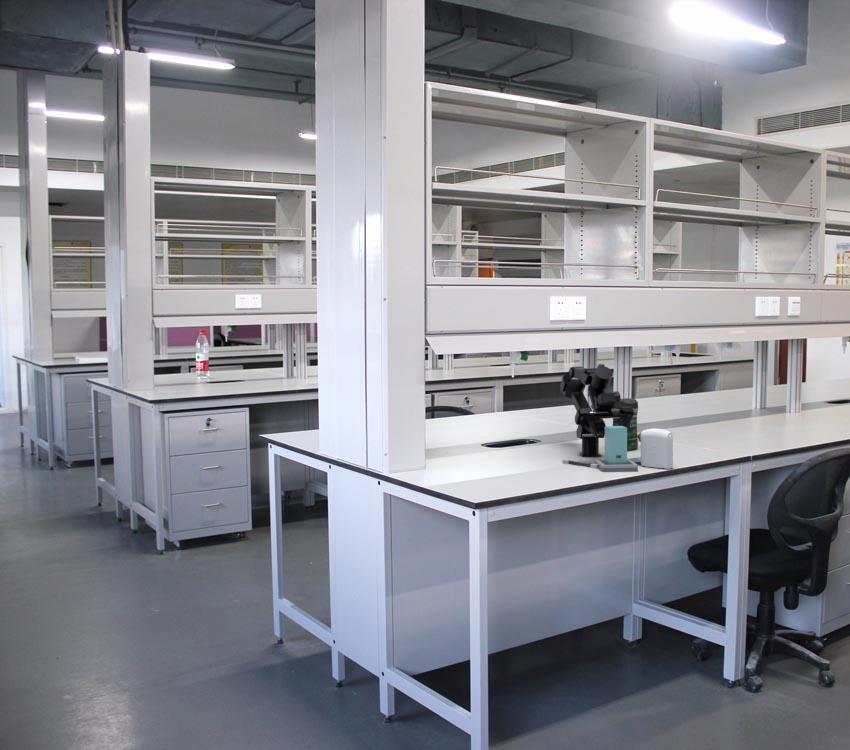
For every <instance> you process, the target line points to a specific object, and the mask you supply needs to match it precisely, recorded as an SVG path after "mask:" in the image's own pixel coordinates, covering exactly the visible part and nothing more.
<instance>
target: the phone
mask: <svg viewBox="0 0 850 750" xmlns="http://www.w3.org/2000/svg"><path fill="white" fill-rule="evenodd" d="M629 459H630V460H631V461H633V462H634V463H636V464H637V465H638V466H641V458H637V457H633V458H632V457H631V458H629Z"/></svg>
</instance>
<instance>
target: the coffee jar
mask: <svg viewBox="0 0 850 750" xmlns="http://www.w3.org/2000/svg"><path fill="white" fill-rule="evenodd" d="M620 407H632V408H633V410H634V415H633V417H632V419H631V422H629V423H628V424H626V428H627V452H628V451H634V450H637V449H638V447H639V441H638V438H637V436H638V411H639V401H638V400H636V398H629V397H627V398H621V400H620V401H619V402H616V403H614V409H612V412H619V410H620ZM618 423H619V422H618V419H617V418H612V426H619V425H618Z"/></svg>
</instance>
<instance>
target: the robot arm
mask: <svg viewBox="0 0 850 750" xmlns="http://www.w3.org/2000/svg"><path fill="white" fill-rule="evenodd" d="M613 375H614V372H613V370H612V369H610V368H609V367H608V366H605V364H604V363H603V364H602V363H599V364H598V365H597V367H595V368H594V367H590V368H589V367H588V368H587V367H584V366H571V367H569V369H568V371H567V372H566V373H565V374H564V375H563V376H562V378H561V380H560V386H559V390H560V392H561V393H562V395H563V396H564V397H565V398H566V399H567V398H568V399H569V400H571V402H572V404H573V406H574V409H576V413H575V416H574V423H575V425H577V427H576V431H575V433H576V438H578V439H581V452H579V455H580V456H581V457H602V454H601V453H600V451H599V450H600V449H599V443H600V442H599V441H600V440H599V439H605V426H607V425H606V422H605V421H604V419H606V420H607V419H613V418H617V419H618V422H619V423H618V425H619V426H623V427H626V424H628V423H629V422H631V419H632V417H633V415H634V410H633V408H632V407H620V410H619V412H612V409H614V403H616V402H619V401H620V400H621V399H622V398H621V393H620V391H618V390H617V391H613V392H607V390H606V389H608V388H609V387H610V383H611V380H612V378H613ZM586 386H588V387H587V396H588V397H589V399H590V403H591V405H590V404H589V401H588V400H587V398H586V396H585V393H584V392H585V389H586Z"/></svg>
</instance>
